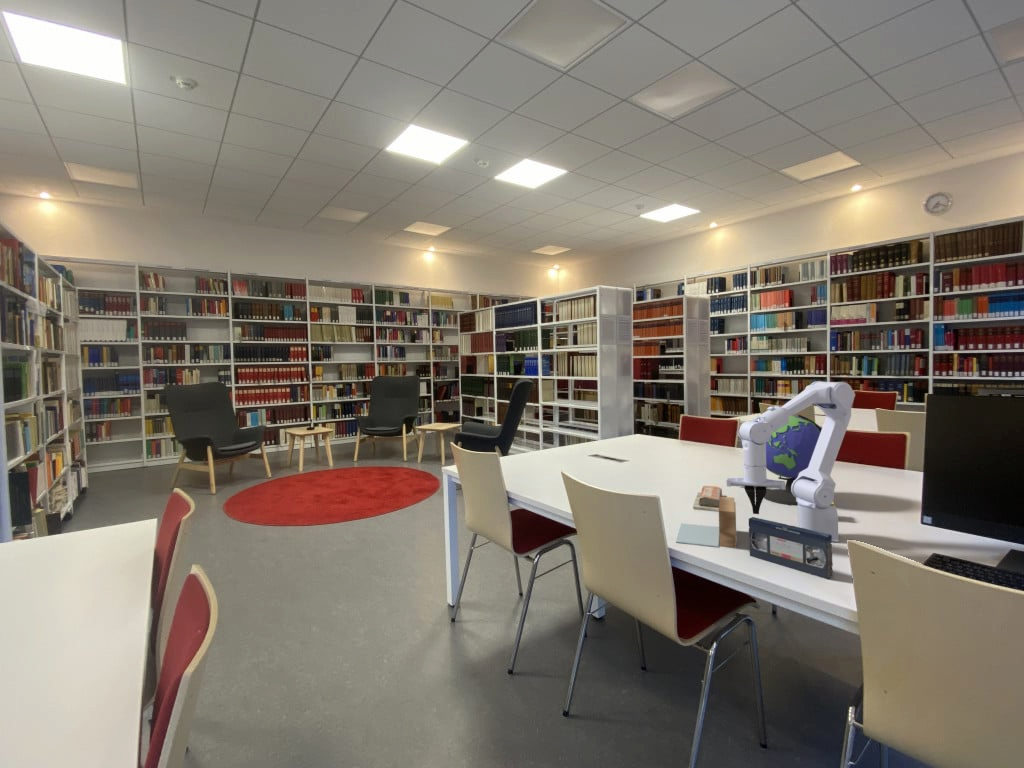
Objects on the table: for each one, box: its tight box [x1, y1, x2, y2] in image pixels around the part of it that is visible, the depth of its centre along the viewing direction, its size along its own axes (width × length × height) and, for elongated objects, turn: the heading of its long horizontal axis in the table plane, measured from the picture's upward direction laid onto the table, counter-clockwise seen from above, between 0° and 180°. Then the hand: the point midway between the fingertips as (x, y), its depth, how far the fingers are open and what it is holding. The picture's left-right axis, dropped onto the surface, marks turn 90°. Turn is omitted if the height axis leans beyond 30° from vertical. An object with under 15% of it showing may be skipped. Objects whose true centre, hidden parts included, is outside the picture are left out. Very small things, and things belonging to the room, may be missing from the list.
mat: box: [675, 522, 720, 548], centre depth 138 cm, size 11×16×1 cm
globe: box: [763, 414, 822, 507], centre depth 169 cm, size 22×22×30 cm
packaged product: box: [692, 485, 727, 513], centre depth 168 cm, size 18×5×10 cm
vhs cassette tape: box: [748, 516, 834, 580], centre depth 116 cm, size 18×3×10 cm, turn 35°
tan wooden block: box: [718, 497, 737, 549], centre depth 135 cm, size 4×14×10 cm, turn 155°
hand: (755, 513), depth 132 cm, fingers closed
